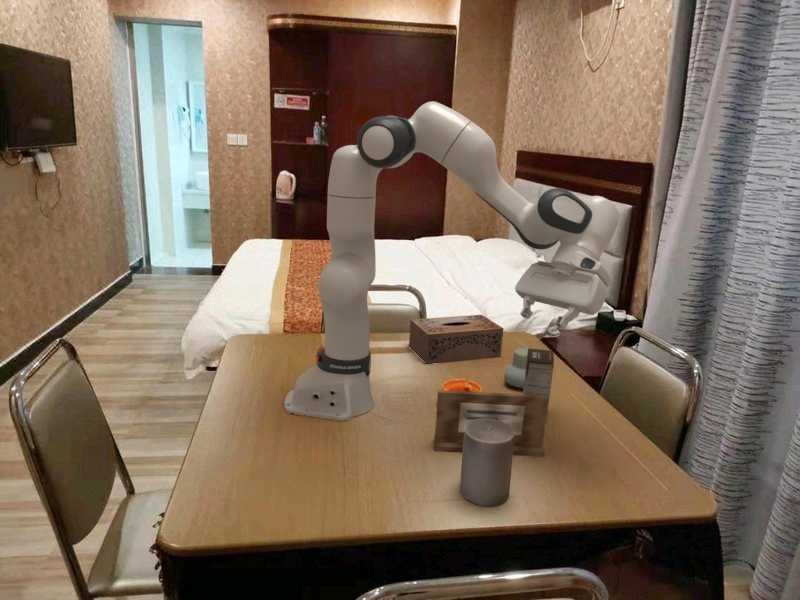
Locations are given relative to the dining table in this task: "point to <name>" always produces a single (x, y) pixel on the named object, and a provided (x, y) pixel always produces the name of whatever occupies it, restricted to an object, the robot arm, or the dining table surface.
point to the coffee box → (539, 373)
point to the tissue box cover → (455, 338)
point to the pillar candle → (487, 461)
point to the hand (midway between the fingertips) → (541, 321)
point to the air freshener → (517, 368)
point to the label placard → (509, 408)
